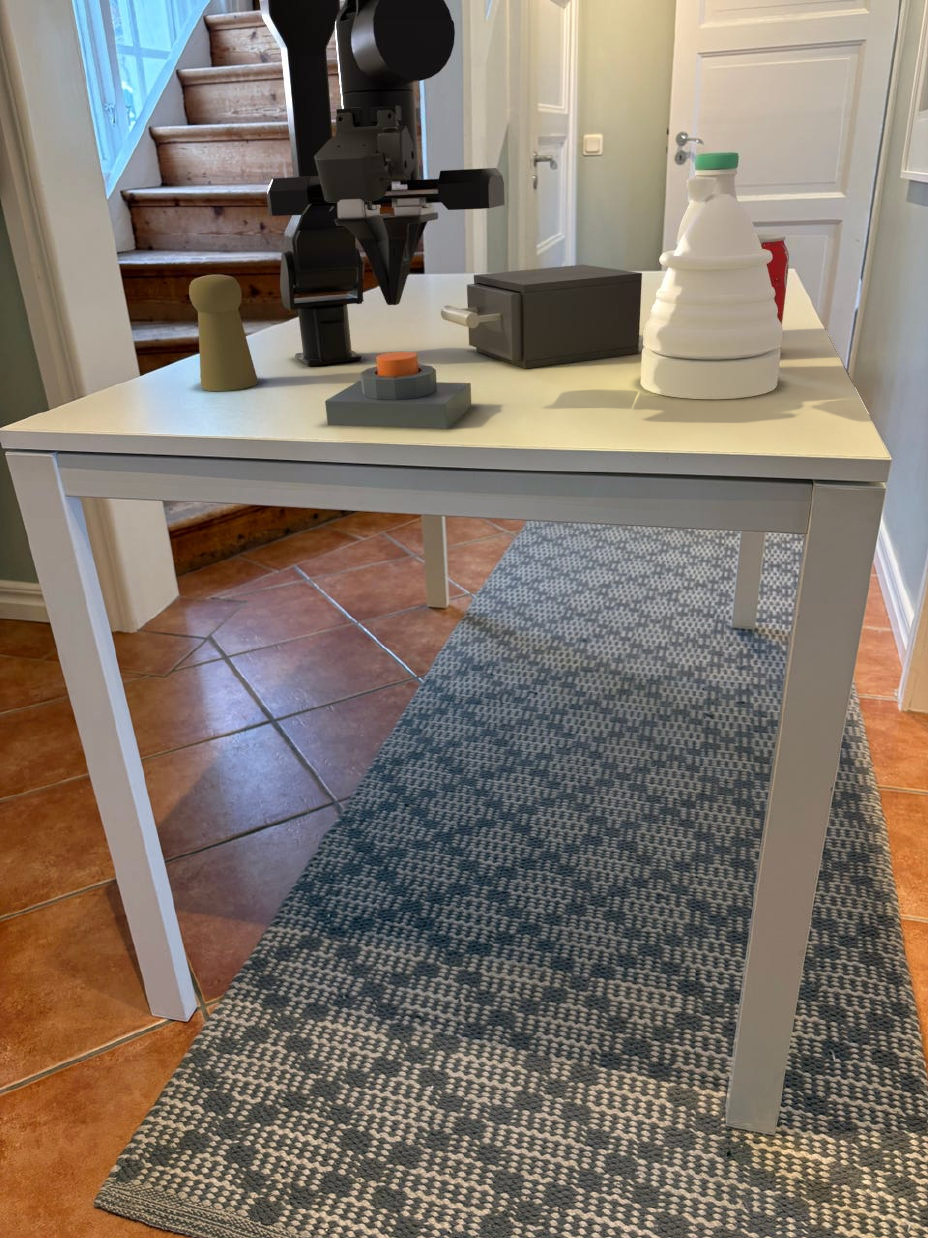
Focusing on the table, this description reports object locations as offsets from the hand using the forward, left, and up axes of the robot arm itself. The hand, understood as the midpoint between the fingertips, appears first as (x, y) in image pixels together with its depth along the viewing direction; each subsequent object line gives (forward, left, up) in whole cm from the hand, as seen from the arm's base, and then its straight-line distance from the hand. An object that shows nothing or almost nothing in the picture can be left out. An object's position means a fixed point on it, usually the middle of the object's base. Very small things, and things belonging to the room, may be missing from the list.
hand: (393, 304), depth 77 cm
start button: (0, 0, -6) cm, 6 cm away
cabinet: (-18, +26, -10) cm, 33 cm away
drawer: (-18, +22, -9) cm, 30 cm away
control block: (0, 0, -10) cm, 10 cm away
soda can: (-4, +42, -10) cm, 43 cm away
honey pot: (+5, +30, -10) cm, 32 cm away
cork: (-23, -11, -10) cm, 27 cm away
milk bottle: (-14, +44, -10) cm, 47 cm away
